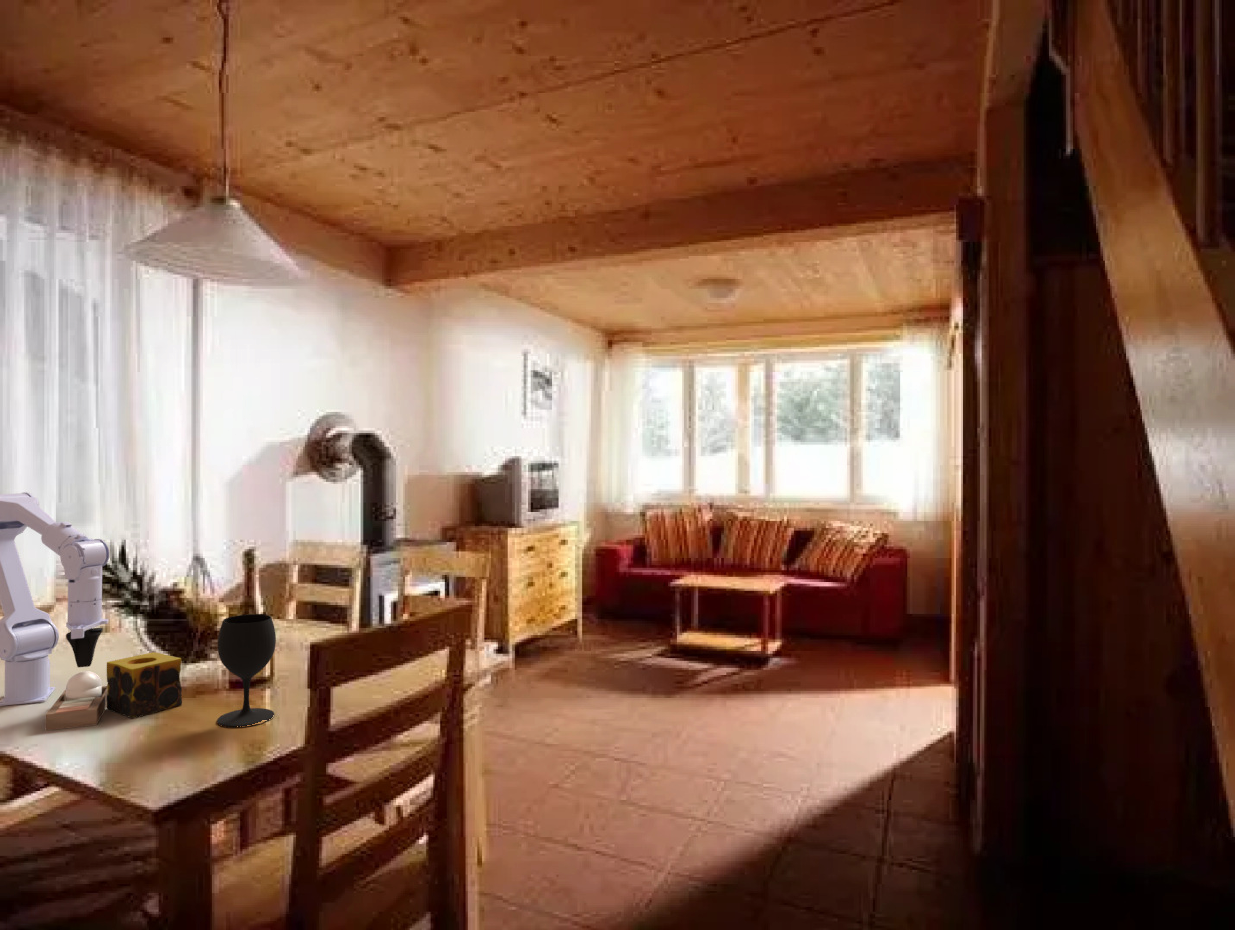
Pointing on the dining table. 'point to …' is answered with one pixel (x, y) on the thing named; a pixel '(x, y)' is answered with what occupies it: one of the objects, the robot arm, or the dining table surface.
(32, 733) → the dining table surface
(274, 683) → the dining table surface
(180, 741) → the dining table surface
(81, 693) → the dome button
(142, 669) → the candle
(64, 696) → the brown shallow box
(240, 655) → the wine glass
